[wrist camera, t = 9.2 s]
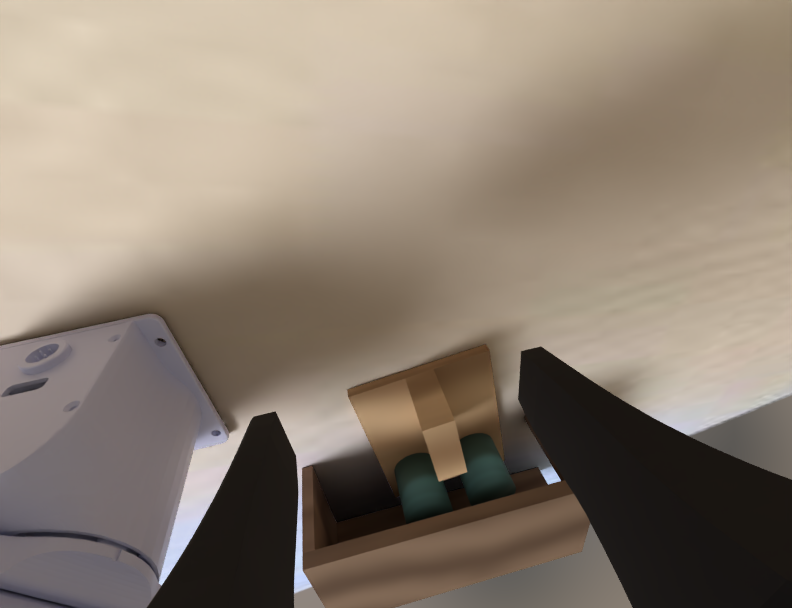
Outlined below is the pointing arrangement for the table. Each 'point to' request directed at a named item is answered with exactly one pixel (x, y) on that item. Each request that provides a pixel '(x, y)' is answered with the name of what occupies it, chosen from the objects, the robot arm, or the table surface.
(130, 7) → the table surface
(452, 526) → the wooden caddy
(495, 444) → the tray
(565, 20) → the table surface
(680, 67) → the table surface
